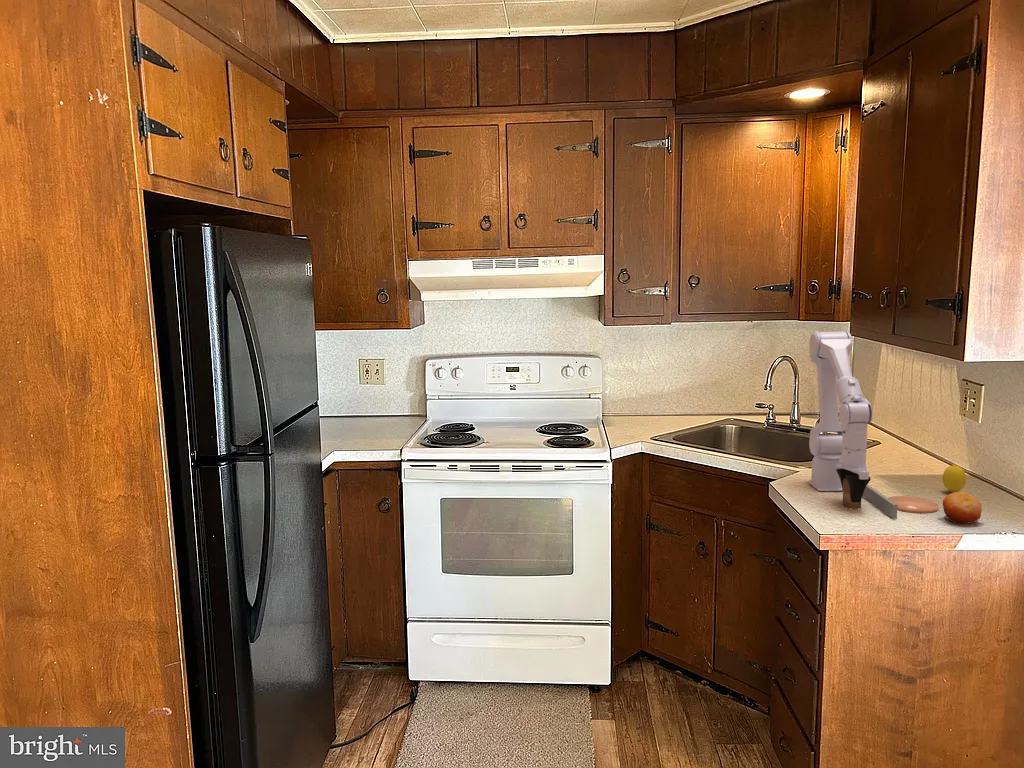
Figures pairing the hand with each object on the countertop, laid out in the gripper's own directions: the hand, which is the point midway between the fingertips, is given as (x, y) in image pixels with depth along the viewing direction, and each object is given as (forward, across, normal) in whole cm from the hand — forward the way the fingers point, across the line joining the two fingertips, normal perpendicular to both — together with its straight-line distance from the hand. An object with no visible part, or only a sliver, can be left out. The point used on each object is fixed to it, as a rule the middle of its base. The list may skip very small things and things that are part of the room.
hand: (852, 499), depth 191 cm
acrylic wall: (+2, 0, +6) cm, 7 cm away
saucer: (+2, 0, +15) cm, 15 cm away
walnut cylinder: (+2, 0, 0) cm, 2 cm away
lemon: (+2, -11, +31) cm, 33 cm away
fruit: (+2, +12, +21) cm, 24 cm away
